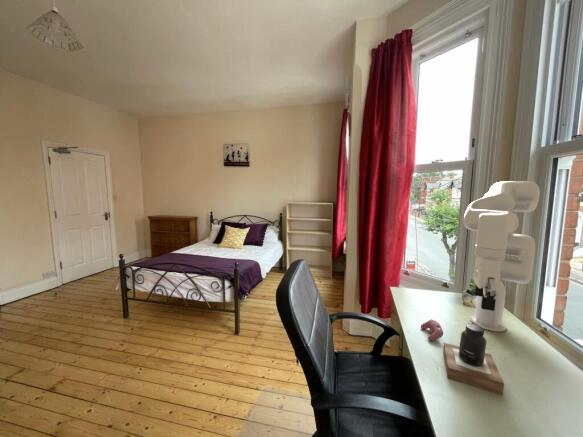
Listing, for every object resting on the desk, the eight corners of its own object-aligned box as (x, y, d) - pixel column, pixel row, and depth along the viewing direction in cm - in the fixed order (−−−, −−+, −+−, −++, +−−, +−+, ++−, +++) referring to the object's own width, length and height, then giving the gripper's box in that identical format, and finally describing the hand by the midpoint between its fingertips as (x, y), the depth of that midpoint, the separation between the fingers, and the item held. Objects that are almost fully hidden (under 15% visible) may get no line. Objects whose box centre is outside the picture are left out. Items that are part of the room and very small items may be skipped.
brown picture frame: (443, 352, 91) (444, 342, 91) (489, 364, 85) (491, 353, 84) (447, 378, 79) (448, 367, 78) (502, 395, 73) (504, 382, 72)
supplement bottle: (462, 364, 79) (465, 330, 78) (456, 351, 86) (459, 319, 84) (487, 369, 77) (491, 335, 75) (479, 355, 83) (483, 323, 82)
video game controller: (437, 346, 97) (447, 332, 96) (427, 340, 97) (437, 327, 96) (428, 331, 107) (437, 319, 105) (419, 326, 107) (427, 313, 106)
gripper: (470, 244, 86) (465, 289, 88) (481, 258, 71) (475, 312, 73) (497, 246, 82) (491, 293, 85) (514, 261, 67) (507, 318, 70)
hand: (483, 302), depth 79 cm, fingers open, 9 cm apart
